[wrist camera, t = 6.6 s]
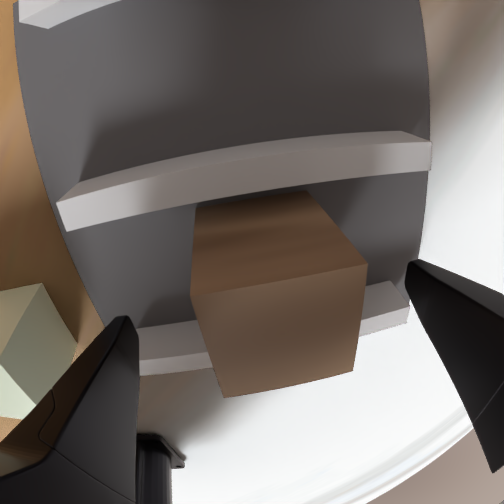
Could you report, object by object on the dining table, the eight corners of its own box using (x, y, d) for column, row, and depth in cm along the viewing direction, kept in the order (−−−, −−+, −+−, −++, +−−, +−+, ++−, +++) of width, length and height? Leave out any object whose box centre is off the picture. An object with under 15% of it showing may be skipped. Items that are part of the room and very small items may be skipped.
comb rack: (405, 300, 15) (426, 329, 13) (125, 354, 15) (118, 391, 12) (403, -46, 7) (437, -60, 5) (18, 5, 6) (-17, -4, 4)
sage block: (77, 343, 14) (53, 422, 10) (26, 347, 14) (-2, 415, 9) (42, 282, 12) (-2, 361, 8) (-9, 292, 12) (-52, 359, 7)
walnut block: (309, 280, 13) (352, 371, 9) (215, 297, 13) (223, 398, 9) (306, 190, 11) (367, 263, 7) (195, 208, 11) (189, 296, 7)
